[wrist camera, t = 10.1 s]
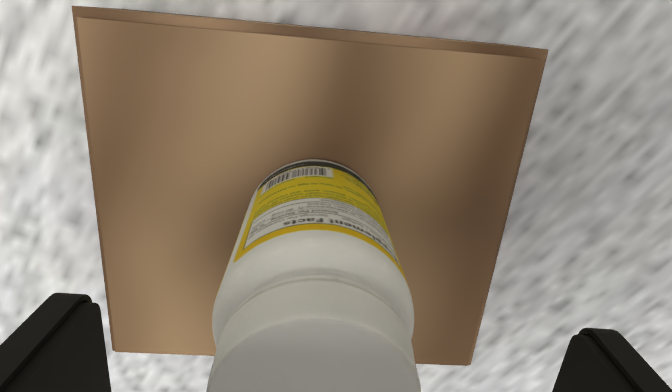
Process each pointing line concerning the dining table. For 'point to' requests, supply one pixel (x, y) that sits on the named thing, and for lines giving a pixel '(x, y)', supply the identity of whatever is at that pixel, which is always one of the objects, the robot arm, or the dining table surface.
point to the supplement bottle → (313, 291)
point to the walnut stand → (294, 157)
